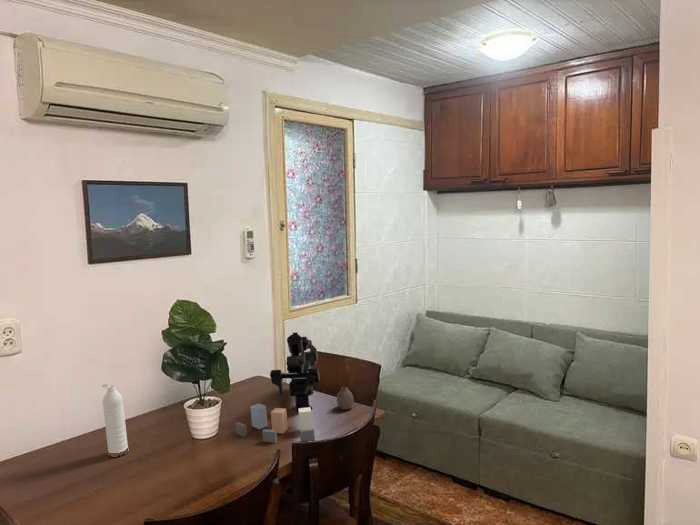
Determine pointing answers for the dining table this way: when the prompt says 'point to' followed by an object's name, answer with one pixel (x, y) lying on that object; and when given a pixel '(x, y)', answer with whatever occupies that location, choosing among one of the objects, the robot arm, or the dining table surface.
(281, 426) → the salmon rectangular block
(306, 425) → the cream rectangular block
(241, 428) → the block
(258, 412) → the gray rectangular block
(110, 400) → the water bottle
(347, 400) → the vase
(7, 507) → the dining table surface
